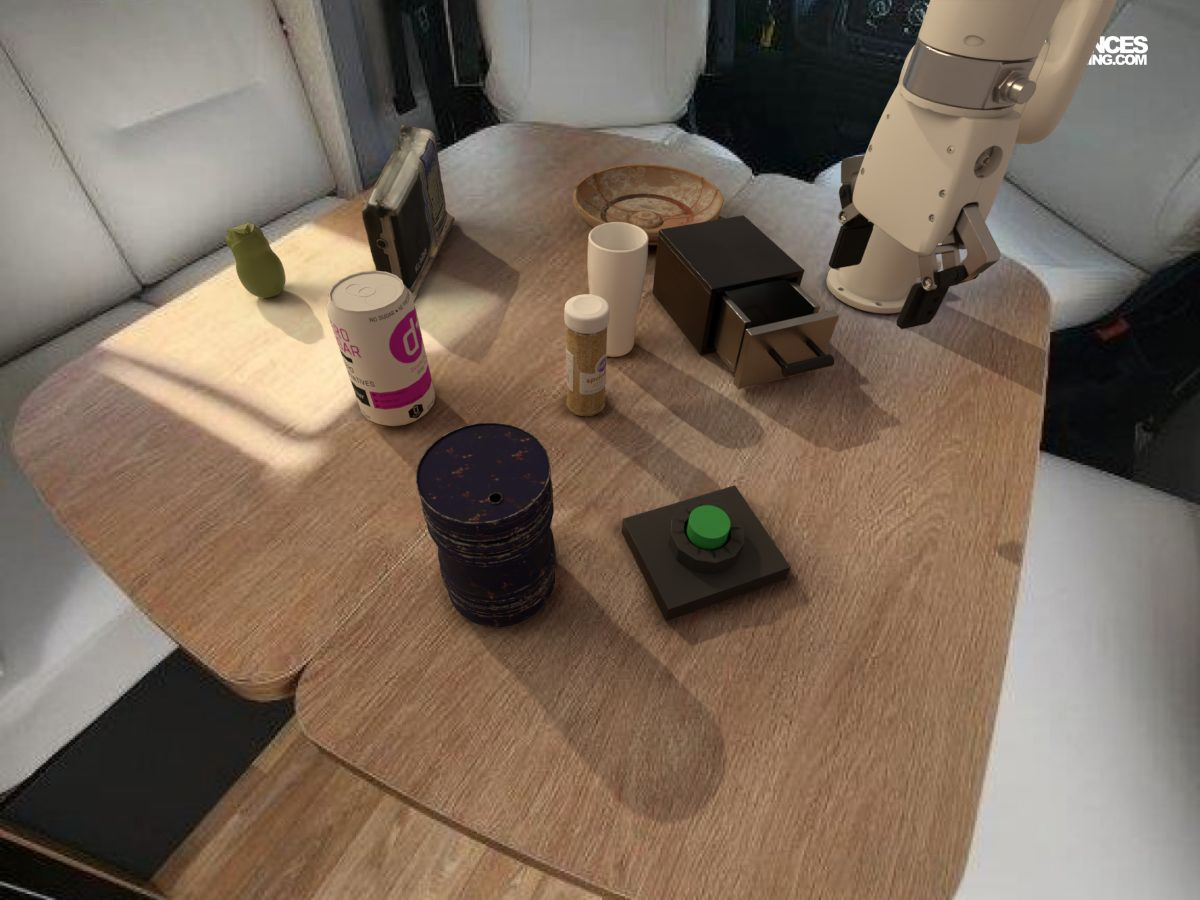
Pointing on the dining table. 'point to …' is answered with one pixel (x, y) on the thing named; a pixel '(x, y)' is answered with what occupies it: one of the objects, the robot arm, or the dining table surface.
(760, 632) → the dining table surface
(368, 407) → the soda can
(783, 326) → the drawer
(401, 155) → the radio
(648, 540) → the control block
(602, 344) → the sprinkles bottle
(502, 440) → the storage jar
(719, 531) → the button
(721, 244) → the cabinet
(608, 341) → the tall white cup
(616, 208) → the ceramic bowl
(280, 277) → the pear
